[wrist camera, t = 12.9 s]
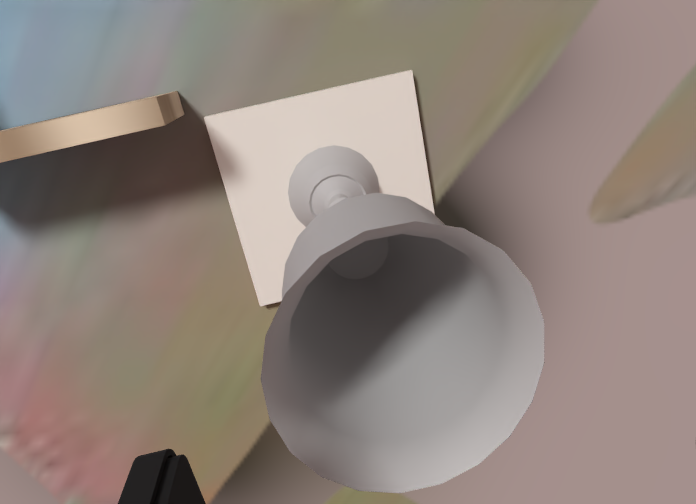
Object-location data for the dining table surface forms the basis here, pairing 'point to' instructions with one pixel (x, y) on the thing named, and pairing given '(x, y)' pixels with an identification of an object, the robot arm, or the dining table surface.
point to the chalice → (394, 336)
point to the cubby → (89, 126)
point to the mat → (303, 138)
